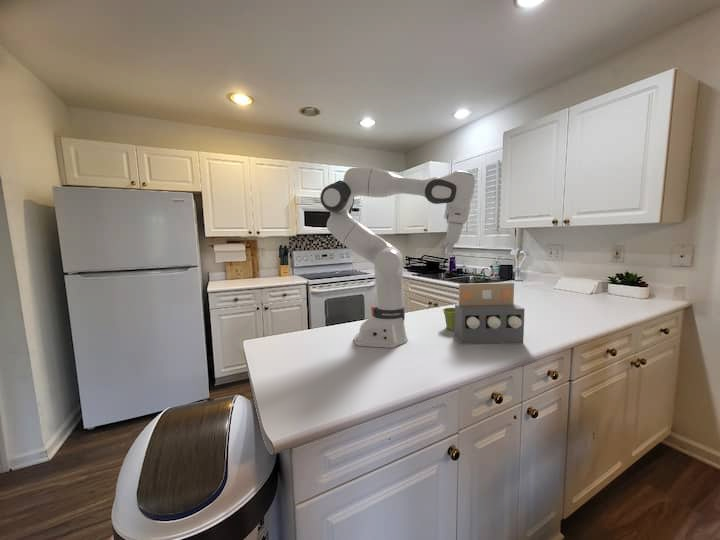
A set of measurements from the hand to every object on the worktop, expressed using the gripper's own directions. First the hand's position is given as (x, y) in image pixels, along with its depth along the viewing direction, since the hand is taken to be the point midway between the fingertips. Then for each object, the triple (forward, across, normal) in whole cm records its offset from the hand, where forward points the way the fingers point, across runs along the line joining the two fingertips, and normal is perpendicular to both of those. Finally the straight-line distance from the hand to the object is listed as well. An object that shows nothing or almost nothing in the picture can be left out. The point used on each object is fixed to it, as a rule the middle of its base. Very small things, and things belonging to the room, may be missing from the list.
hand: (449, 249), depth 119 cm
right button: (+25, +6, +30) cm, 39 cm away
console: (+34, +4, +22) cm, 41 cm away
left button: (+28, +9, +14) cm, 32 cm away
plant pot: (+39, -8, +10) cm, 41 cm away
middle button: (+26, +8, +22) cm, 35 cm away
